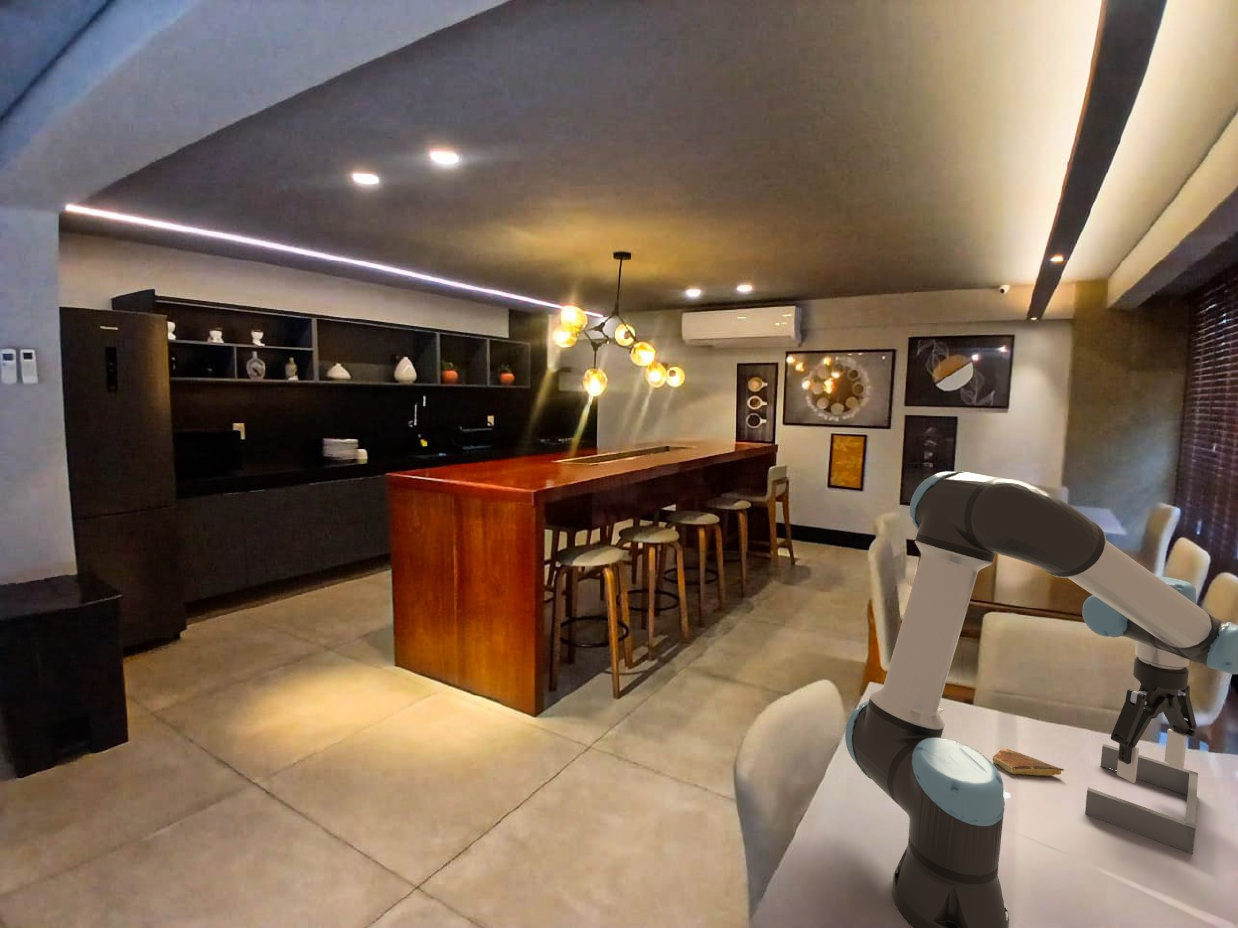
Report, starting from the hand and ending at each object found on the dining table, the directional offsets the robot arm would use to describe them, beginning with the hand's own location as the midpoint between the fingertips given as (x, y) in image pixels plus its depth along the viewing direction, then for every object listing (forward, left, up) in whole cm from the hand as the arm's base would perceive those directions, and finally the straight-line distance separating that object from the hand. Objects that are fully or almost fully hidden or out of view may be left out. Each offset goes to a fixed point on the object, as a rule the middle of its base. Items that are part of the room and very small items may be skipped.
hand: (1150, 771), depth 115 cm
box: (0, 0, -7) cm, 7 cm away
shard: (-7, +16, -8) cm, 19 cm away
